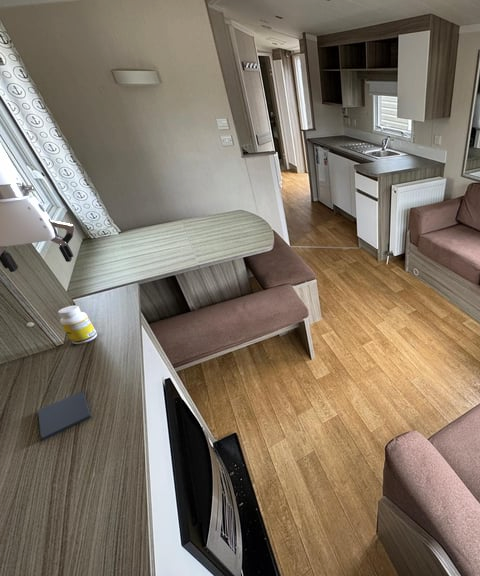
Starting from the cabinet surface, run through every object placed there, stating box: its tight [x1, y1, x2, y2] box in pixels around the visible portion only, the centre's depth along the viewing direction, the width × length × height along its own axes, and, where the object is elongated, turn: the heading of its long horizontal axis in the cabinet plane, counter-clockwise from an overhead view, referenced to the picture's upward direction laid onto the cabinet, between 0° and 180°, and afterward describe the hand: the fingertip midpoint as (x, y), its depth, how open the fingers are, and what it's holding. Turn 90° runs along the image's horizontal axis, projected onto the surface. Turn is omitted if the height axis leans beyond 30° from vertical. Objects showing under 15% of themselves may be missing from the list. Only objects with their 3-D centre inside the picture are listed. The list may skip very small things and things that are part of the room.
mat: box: [37, 390, 92, 441], centre depth 62 cm, size 10×7×1 cm
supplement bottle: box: [57, 305, 98, 345], centre depth 83 cm, size 5×5×10 cm
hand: (43, 265), depth 74 cm, fingers open, 9 cm apart
